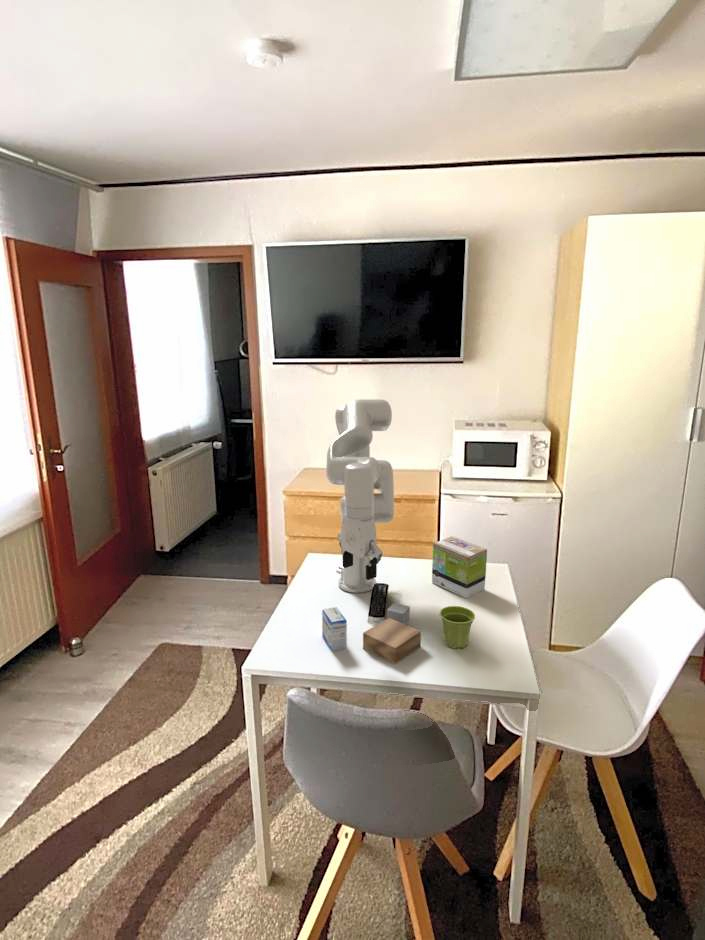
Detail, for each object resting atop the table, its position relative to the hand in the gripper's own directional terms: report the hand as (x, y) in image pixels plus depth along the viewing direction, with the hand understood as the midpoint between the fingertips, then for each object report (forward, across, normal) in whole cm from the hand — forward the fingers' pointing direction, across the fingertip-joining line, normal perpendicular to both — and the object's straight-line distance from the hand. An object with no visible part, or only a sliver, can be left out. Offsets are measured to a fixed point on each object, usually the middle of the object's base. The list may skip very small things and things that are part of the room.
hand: (359, 572), depth 152 cm
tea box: (+20, -6, +47) cm, 51 cm away
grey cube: (+21, -1, +15) cm, 26 cm away
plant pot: (+21, +17, +20) cm, 34 cm away
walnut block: (+21, +8, +5) cm, 23 cm away
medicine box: (+21, -4, -5) cm, 22 cm away
